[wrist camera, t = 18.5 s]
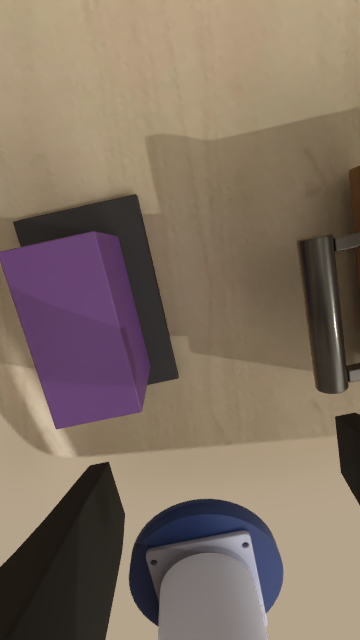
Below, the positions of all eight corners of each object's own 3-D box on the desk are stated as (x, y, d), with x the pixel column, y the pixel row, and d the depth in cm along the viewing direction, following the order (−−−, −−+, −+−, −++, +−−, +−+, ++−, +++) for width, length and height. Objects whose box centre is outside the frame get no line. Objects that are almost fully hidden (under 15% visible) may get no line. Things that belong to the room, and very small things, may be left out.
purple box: (118, 235, 18) (94, 230, 13) (150, 367, 20) (142, 412, 14) (48, 250, 18) (-4, 252, 13) (87, 380, 20) (55, 430, 15)
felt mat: (178, 375, 20) (178, 378, 20) (71, 397, 21) (68, 401, 20) (137, 195, 18) (136, 193, 18) (16, 222, 18) (12, 221, 18)
